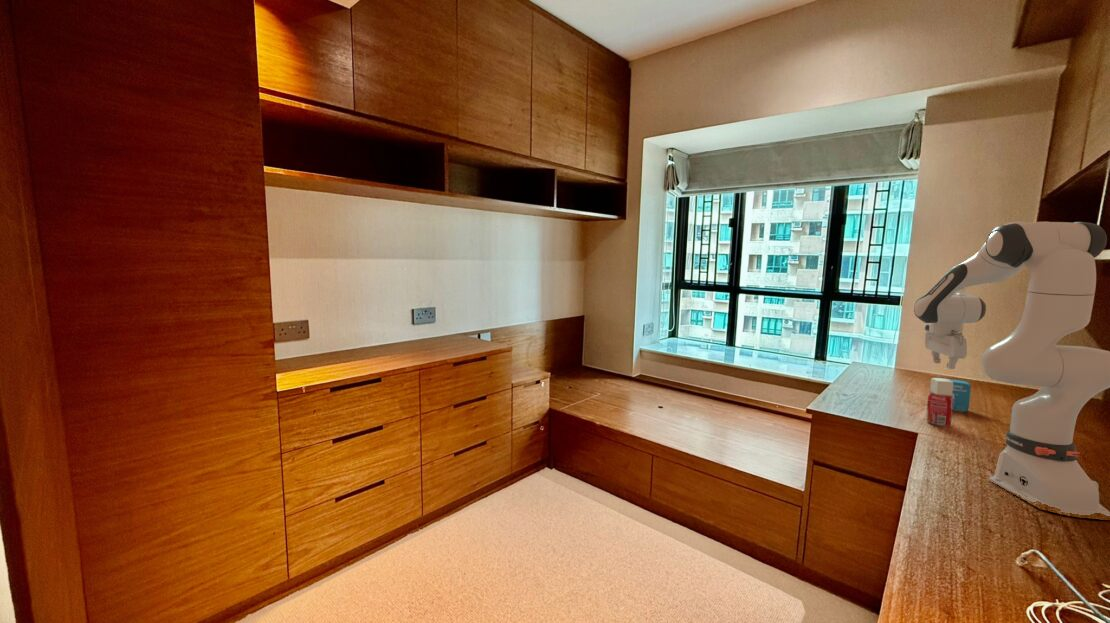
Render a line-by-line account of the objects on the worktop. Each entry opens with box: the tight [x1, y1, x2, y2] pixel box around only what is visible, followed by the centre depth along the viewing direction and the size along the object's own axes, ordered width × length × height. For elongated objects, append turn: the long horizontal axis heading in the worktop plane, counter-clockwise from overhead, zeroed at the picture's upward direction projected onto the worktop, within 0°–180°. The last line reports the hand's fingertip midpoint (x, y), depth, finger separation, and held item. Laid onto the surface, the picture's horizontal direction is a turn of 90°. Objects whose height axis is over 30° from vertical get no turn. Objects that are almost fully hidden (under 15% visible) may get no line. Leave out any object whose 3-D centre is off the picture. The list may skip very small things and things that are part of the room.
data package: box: [929, 377, 972, 413], centre depth 175 cm, size 12×4×12 cm, turn 43°
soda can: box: [925, 392, 953, 427], centre depth 159 cm, size 7×7×12 cm
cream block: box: [929, 377, 953, 395], centre depth 158 cm, size 5×5×5 cm
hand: (943, 365), depth 157 cm, fingers open, 8 cm apart
